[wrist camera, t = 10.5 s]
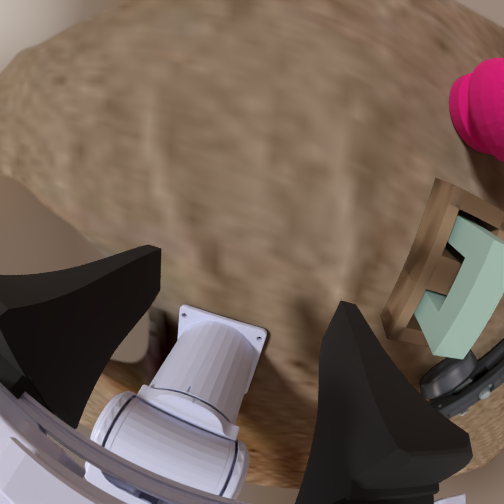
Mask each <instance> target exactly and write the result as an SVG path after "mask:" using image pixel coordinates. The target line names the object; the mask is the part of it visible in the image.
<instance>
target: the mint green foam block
mask: <svg viewBox="0 0 504 504" xmlns="http://www.w3.org/2000/svg"><path fill="white" fill-rule="evenodd" d="M447 242H448V243H449V244H450V245H452V246H453V247H454V248H455V249H456V250H457V251H458V252H459V253H461V254H462V255H463V256H464V257H465V259H464V262H463V264H462V266H461V268H460V271H459V273H458V275H457V277H456V279H455V281H454V283H453V285H452V287H451V289H450V291H449V293H448V295H445V294H441V293H438V292H434V291H431V290H428V289H426V290H425V292H424V294H423V296H422V298H421V300H420V302H419V304H418V306H417V308H416V310H415V312H414V314H415V317H416V319H417V321H418V323H419V325H420V327H421V329H422V331H423V334H424V336H425V338H426V340H427V342H428V345H429V347H430V349H431V352H432V354H433V355H437V356H444V357H450V358H457V359H464V357H465V356H466V355H467V353H468V352H469V350H470V349H471V347H472V346H473V344H474V343H475V341H476V340H477V338H478V337H479V335H480V334H481V332H482V330H483V329H484V327H485V325H486V324H487V322H488V320H489V319H490V317H491V315H492V314H493V312H494V310H495V308H496V306H497V305H498V303H499V301H500V299H501V297H502V295H503V293H504V241H503V240H501V239H500V238H498V237H497V236H495V235H494V234H492V233H491V232H489V231H488V230H486V229H485V228H483V227H482V226H480V225H479V224H477V223H475V222H474V221H472V220H470V219H468V218H466V217H464V216H462V215H460V214H457V217H456V220H455V223H454V225H453V228H452V231H451V233H450V236H449V239H448V241H447Z"/></svg>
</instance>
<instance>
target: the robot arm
mask: <svg viewBox="0 0 504 504" xmlns="http://www.w3.org/2000/svg"><path fill="white" fill-rule="evenodd" d="M160 278H161V248H158V247H155V246H151V245H145V246H141V247H137V248H134V249H131V250H128V251H125V252H122V253H119V254H116V255H113V256H110V257H107V258H104V259H101V260H98V261H95V262H91V263H88V264H85V265H81V266H78V267H73V268H69V269H65V270H59V271H53V272H47V273H39V274H29V275H0V504H252V503H247V502H242V501H238V500H236V498H237V496H238V495H239V493H240V491H241V489H242V487H243V484H244V482H245V479H246V476H247V472H248V468H249V461H250V456H249V452H248V450H247V448H246V445H245V443H244V442H242V441H239V440H236V439H237V436H238V433H239V429H240V428H239V427H238V426H235V422H236V419H237V416H238V413H239V409H240V406H241V403H242V399H243V396H244V394H246V393H247V392H248V389H249V386H250V383H251V380H252V377H253V374H254V372H255V369H256V366H257V363H258V360H259V357H260V354H261V351H262V348H263V345H264V342H265V339H266V336H267V331H266V330H265V329H263V328H260V327H256V326H253V325H249V324H246V323H243V322H239V321H236V320H233V319H229V318H226V317H223V316H220V315H216V314H213V313H210V312H207V311H204V310H201V309H198V308H195V307H192V306H189V305H182V306H181V307H180V313H179V327H178V341H177V343H176V344H175V346H174V347H173V349H172V350H171V352H170V354H169V355H168V357H167V358H166V360H165V362H164V363H163V365H162V366H161V368H160V369H159V371H158V373H157V374H156V376H155V377H154V379H153V381H152V382H151V384H150V385H149V387H148V386H146V385H143V386H142V387H141V389H140V390H139V392H138V394H137V395H136V394H135V393H133V392H131V391H126V392H124V393H121V394H118V395H116V396H115V397H113V398H112V399H111V400H110V402H109V403H108V404H107V405H106V407H105V408H104V410H103V411H102V413H101V414H100V416H99V418H98V420H97V422H96V424H95V426H94V428H93V431H92V434H91V438H90V439H89V438H87V437H86V436H84V435H83V434H81V433H79V432H78V431H76V430H75V429H76V428H77V427H78V424H79V421H80V418H81V416H82V413H83V411H84V408H85V406H86V403H87V401H88V399H89V397H90V395H91V393H92V391H93V389H94V386H95V384H96V383H97V381H98V379H99V377H100V375H101V373H102V371H103V370H104V368H105V366H106V365H107V363H108V361H109V360H110V358H111V356H112V354H113V353H114V351H115V350H116V349H117V347H118V346H119V344H120V343H121V342H122V341H123V339H124V338H125V337H126V336H127V335H128V333H129V332H130V331H131V330H132V328H133V327H134V326H135V325H136V324H137V322H138V321H139V320H140V319H141V318H142V316H143V315H144V314H145V313H146V311H147V310H148V309H149V308H150V306H151V304H152V303H153V301H154V300H155V298H156V296H157V295H158V293H159V291H160ZM184 313H185V314H186V315H187V316H186V315H184ZM258 337H261V338H258ZM46 433H47V434H48V435H50V436H51V437H52V438H54V439H55V440H56V441H58V442H59V443H60V444H62V445H63V446H64V447H66V448H67V449H69V450H70V451H72V452H73V453H75V454H76V455H78V456H79V457H81V458H82V459H84V460H85V461H86V463H85V469H86V470H85V469H83V468H82V467H81V466H80V465H78V464H77V463H76V462H75V461H74V460H72V459H71V458H70V457H69V456H68V455H67V454H66V453H65V451H64V450H63V449H62V448H60V447H59V446H58V445H57V444H55V443H54V442H53V441H51V440H50V439H49V438H48V437H47V434H46ZM472 457H473V454H472V448H471V443H470V438H469V434H468V433H467V432H465V431H464V430H463V429H461V428H460V427H458V426H457V425H456V424H454V423H453V422H451V421H450V420H449V419H447V418H446V417H445V416H444V415H442V414H441V413H440V412H439V411H438V410H436V409H435V408H434V407H433V406H432V405H431V404H430V403H429V402H428V401H427V400H426V399H425V398H424V397H423V396H422V395H421V394H420V393H419V392H418V391H417V390H416V389H415V388H414V387H413V386H412V385H411V384H410V383H409V382H408V380H407V379H406V378H405V377H404V375H403V374H402V373H401V372H400V371H399V369H398V368H397V367H396V366H395V364H394V363H393V362H392V360H391V359H390V357H389V356H388V354H387V353H386V352H385V350H384V349H383V347H382V346H381V344H380V343H379V341H378V339H377V338H376V336H375V335H374V333H373V331H372V330H371V328H370V327H369V325H368V323H367V322H366V320H365V318H364V317H363V315H362V313H361V312H360V310H359V309H358V307H357V306H356V304H352V303H349V302H345V301H340V303H339V305H338V307H337V310H336V312H335V314H334V316H333V318H332V320H331V322H330V324H329V327H328V329H327V331H326V333H325V335H324V337H323V339H322V345H321V352H320V359H319V390H318V412H317V421H316V426H315V432H314V437H313V442H312V447H311V451H310V455H309V460H308V463H307V467H306V471H305V474H304V478H303V481H302V484H301V488H300V491H299V494H298V497H297V499H296V502H295V504H466V497H465V494H464V493H462V494H459V495H455V496H450V497H446V498H442V499H439V500H436V501H434V496H433V494H436V493H438V491H439V482H441V481H443V480H445V479H447V478H448V477H450V476H452V475H453V474H455V473H457V472H458V471H460V470H461V469H463V468H464V467H465V466H466V465H467V464H468V463H469V462H470V461H471V459H472ZM84 476H85V478H86V480H87V481H86V480H84V479H83V477H84Z"/></svg>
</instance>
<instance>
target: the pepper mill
mask: <svg viewBox="0 0 504 504" xmlns="http://www.w3.org/2000/svg"><path fill="white" fill-rule="evenodd" d="M449 108H450V114H451V118H452V121H453V124H454V126H455V128H456V130H457V132H458V134H459V135H460V137H461V138H462V139H463V140H464V142H465V143H466V144H467V145H468V146H470V147H471V148H472V149H474V150H476V151H478V152H480V153H485V154H491V155H494V156H495V157H496V158H497V159H498V160H500V161H502V162H503V163H504V58H494V59H488V60H486V61H483V62H481V63H480V64H479V65H478V66H477V67H476V68H475V69H474V71H473V73H470V74H467V75H464V76H462V77H460V78H458V79H457V80H456V81H455V82H454V84H453V86H452V88H451V91H450V96H449Z"/></svg>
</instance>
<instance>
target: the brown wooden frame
mask: <svg viewBox="0 0 504 504" xmlns="http://www.w3.org/2000/svg"><path fill="white" fill-rule="evenodd" d="M459 209H461V210H463V211H465V212H467V213H469V214H471V215H473V216H475V217H477V218H479V219H480V220H479V222H478V224H479V225H480V226H482V227H483V228H485V229H486V230H488V231H489V232H491V233H492V234H494V235H495V236H497V237H498V238H500V239H501V240H503V241H504V212H503V211H502V210H500V209H498V208H496V207H495V206H493V205H491V204H489V203H488V202H486V201H484V200H482V199H481V198H479V197H477V196H475V195H473V194H471V193H469V192H467V191H465V190H463V189H461V188H459V187H457V186H455V185H453V184H451V183H448V182H445V181H442V180H440V179H437V178H435V182H434V185H433V188H432V192H431V195H430V198H429V201H428V204H427V207H426V210H425V213H424V216H423V219H422V222H421V224H420V227H419V230H418V233H417V235H416V238H415V240H414V243H413V246H412V248H411V251H410V253H409V255H408V258H407V260H406V263H405V265H404V267H403V270H402V272H401V274H400V276H399V279H398V281H397V283H396V285H395V287H394V289H393V291H392V294H391V296H390V298H389V300H388V302H387V304H386V306H385V308H384V310H383V312H382V314H381V316H380V317H381V320H382V323H383V326H384V330H385V333H386V336H387V338H388V339H392V340H397V341H402V342H407V343H412V344H417V345H422V346H428V347H429V345H428V342H427V340H426V338H425V336H424V334H423V331H422V329H421V327H420V325H419V323H418V321H417V319H416V317H415V314H414V312H415V310H416V308H417V306H418V304H419V302H420V300H421V298H422V296H423V294H424V292H425V290H426V289H428V290H431V291H434V292H438V293H441V294H445V295H448V293H449V291H450V289H451V287H452V285H453V283H454V281H455V279H456V277H457V275H458V273H459V271H460V268H461V266H462V264H463V262H464V259H465V257H464V256H463V255H462V254H460V253H458V252H455V251H453V250H450V249H447V248H445V246H446V244H447V241H448V239H449V236H450V233H451V231H452V228H453V225H454V223H455V220H456V217H457V214H458V211H459Z"/></svg>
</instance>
